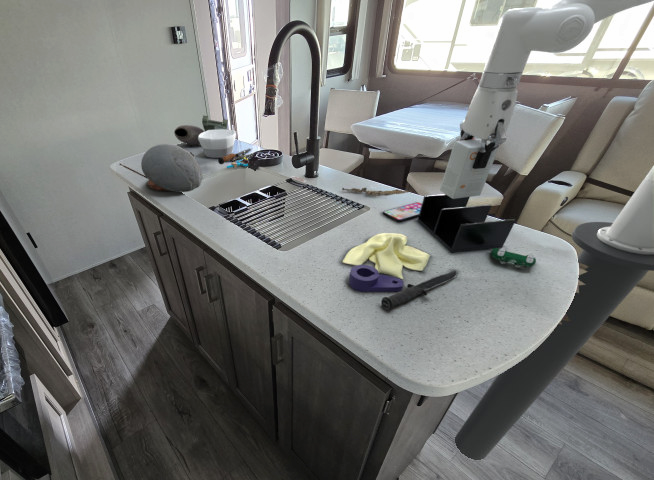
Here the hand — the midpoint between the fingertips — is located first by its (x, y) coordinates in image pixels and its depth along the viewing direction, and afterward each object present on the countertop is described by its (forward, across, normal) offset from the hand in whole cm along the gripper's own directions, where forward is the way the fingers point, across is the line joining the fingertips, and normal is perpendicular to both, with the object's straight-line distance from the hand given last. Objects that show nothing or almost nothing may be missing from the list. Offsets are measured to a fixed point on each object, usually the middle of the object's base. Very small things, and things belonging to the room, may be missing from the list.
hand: (470, 163), depth 83 cm
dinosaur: (+15, +78, +50) cm, 94 cm away
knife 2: (+18, -26, +22) cm, 39 cm away
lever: (+18, -23, +31) cm, 43 cm away
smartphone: (+18, +10, +7) cm, 22 cm away
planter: (+11, +107, +85) cm, 137 cm away
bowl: (+18, +90, +66) cm, 113 cm away
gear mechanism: (+15, +67, +51) cm, 85 cm away
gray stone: (+5, +50, +81) cm, 95 cm away
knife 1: (+17, +86, +60) cm, 106 cm away
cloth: (+18, -12, +24) cm, 33 cm away
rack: (+18, -4, 0) cm, 19 cm away
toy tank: (+8, +118, +66) cm, 136 cm away
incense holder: (+18, +56, +89) cm, 107 cm away
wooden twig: (+17, +29, +10) cm, 35 cm away
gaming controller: (+18, -20, -4) cm, 28 cm away
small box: (+8, 0, 0) cm, 8 cm away
